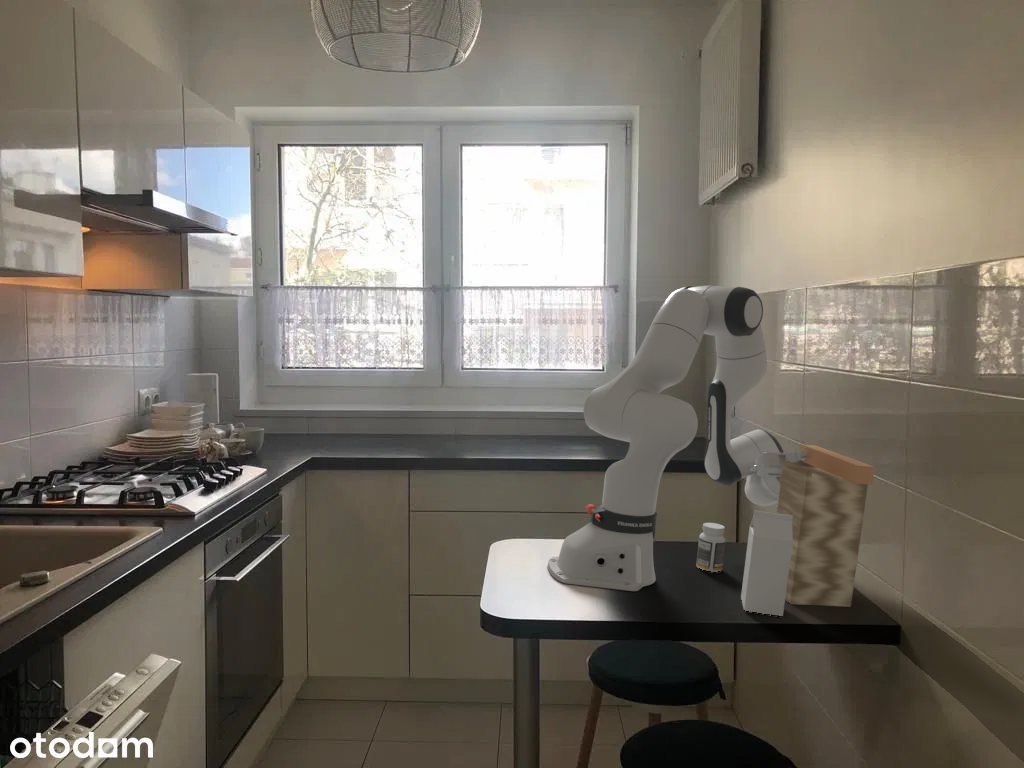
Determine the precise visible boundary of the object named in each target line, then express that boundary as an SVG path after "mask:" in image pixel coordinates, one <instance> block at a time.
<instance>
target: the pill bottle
mask: <svg viewBox="0 0 1024 768" xmlns="http://www.w3.org/2000/svg"><path fill="white" fill-rule="evenodd" d="M725 529H726V528H725V526H724V525H723V524H720V523H716V522H704V523H703V524H702V531H703V532H701V533H700V534H699V535H698V536H699V537H698V545H697V553H696V554H697V555H696V563H695V565H696V568H698V569H699V568H700V569H702V570H701V571H703V570H706V571H711V572H710V573H713V572H716V573H719V572H718V571H720V572H722V571H723V566H724V559H725V558H724V557H725V548H726V541H727V540H726V538H725V536H724V534H725ZM700 569H699V570H700ZM721 570H722V571H721ZM706 571H705V572H706Z"/></svg>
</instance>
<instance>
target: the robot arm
mask: <svg viewBox="0 0 1024 768" xmlns="http://www.w3.org/2000/svg"><path fill="white" fill-rule="evenodd" d="M763 314H764V306H763V302H762V300H761V297H760V296H759V295H758V293H757V292H756V291H755V290H753V289H751V288H747V287H744V286H743V287H742V286H736V287H732V286H724V285H714V284H713V285H698V286H684V287H681V288H678V289H676V290H674V291H673V292H671V293H670V294H669V295H668V297H666V299H665V301H664V302H663V303H662V305H661V306H660V308H659V310H658V311H657V313H656V314H655V316H654V317H653V320H652V322H651V324H650V326H649V328H648V331H647V332H646V335H645V337H644V339H643V341H642V342H641V344H640V346H639V349H638V350H637V352H636V354H635V356H634V358H633V359H632V360H631V362H629V364H628V365H627V366H626V367H625V368H624V369H623V370H622V371H621V372H620V373H619V374H618V375H617V376H615V377H614V378H613V379H612V380H610V381H608V382H607V383H605V384H604V385H601V386H599V387H597V388H595V389H593V390H592V391H591V392H590V393H588V396H587V397H586V399H585V402H584V404H583V418H584V421H585V424H586V426H587V427H588V429H590V430H592V431H594V432H595V433H598V434H600V435H602V436H604V437H606V438H609V439H613V440H617V441H622V442H626V443H629V447H628V451H627V453H626V455H625V457H624V458H623V459H620V460H618V461H615V462H613V463H612V464H611V465H609V466H608V468H607V469H606V471H605V474H604V482H603V490H602V491H603V492H602V500H601V504H600V505H598V506H595V505H594V504H592V503H588V504H587V505H586V506H585V511H586V513H587V514H589V515H590V522H588V523H587V524H586V525H584V526H582V527H580V529H578V530H576V531H575V532H573V533H571V534H568V536H566V537H565V539H564V540H563V542H562V544H561V548H560V550H559V554H558V556H552V557H550V558H549V559H548V563H547V569H548V572H549V573H550V575H551V576H552V577H553V578H554V579H555V580H557V581H558V582H561V583H563V584H567V585H568V584H569V585H578V586H586V587H593V588H602V589H612V590H617V591H627V592H628V591H629V592H638V591H640V590H641V589H642V588H644V587H647V586H650V585H652V584H654V583H655V582H656V581H657V578H656V573H655V567H654V565H655V564H654V539H655V538H656V537H655V534H656V532H657V525H658V519H657V518H658V513H657V512H656V507H657V499H658V495H659V487H660V482H661V478H662V476H663V475H662V474H663V473H664V470H665V468H666V466H667V465H668V463H669V462H670V460H671V459H672V458H673V457H674V456H675V455H677V453H679V452H680V451H682V450H683V449H686V448H687V447H688V446H689V445H690V444H691V443H692V442H693V440H694V439H695V437H696V435H697V431H698V426H699V425H698V423H699V420H698V415H697V413H696V410H695V409H694V406H692V405H691V404H690V403H689V402H687V401H684V400H682V399H679V398H677V397H675V396H672V395H669V394H663V393H662V392H663V391H664V390H666V389H668V388H670V387H672V386H675V385H678V384H679V383H680V382H682V381H683V380H684V379H685V378H686V377H687V375H688V372H689V370H690V368H691V366H692V363H693V361H694V359H695V356H696V354H697V352H698V350H699V347H700V345H701V343H702V342H701V341H702V339H703V337H704V335H708V336H711V337H712V336H713V337H715V339H714V340H715V341H714V342H715V344H714V345H715V352H716V353H715V354H716V368H715V374H714V376H713V379H712V381H711V382H710V384H709V385H708V390H707V396H706V397H707V401H706V446H705V450H704V451H705V452H704V459H703V461H704V462H703V467H704V470H705V472H706V474H707V475H708V477H709V479H711V480H712V481H714V482H715V483H717V484H719V485H723V486H725V487H730V486H732V485H734V484H735V483H737V482H739V481H741V480H742V479H744V478H746V482H745V485H744V493H745V497H746V498H747V499H748V500H749V501H750V502H751V503H753V504H755V505H757V506H761V507H769V506H773V505H775V504H778V500H779V493H780V485H781V477H782V469H783V462H784V461H789V462H791V463H794V464H796V465H798V466H801V467H813V468H817V467H814V466H812V465H810V464H807V463H805V462H802V461H800V460H805V459H806V458H807V454H806V453H807V452H806V451H804V450H800V449H799V450H797V451H795V452H790V453H789V452H786V453H785V452H784V449H783V447H782V445H781V443H779V441H778V440H777V438H776V437H775V436H774V435H772V434H771V433H769V432H768V431H767V430H764V429H760V428H756V429H754V430H751V431H749V432H746V433H743V434H741V435H739V436H737V437H735V438H732V439H731V429H732V428H731V427H732V426H731V424H732V423H731V421H732V419H731V418H732V417H731V416H732V412H733V410H734V408H735V406H736V405H737V404H738V403H739V402H740V400H742V398H743V397H744V396H745V395H747V394H748V392H749V393H750V391H751V390H752V389H754V388H755V387H756V386H757V385H759V383H761V381H762V379H763V378H764V376H765V374H766V371H767V365H768V361H767V360H768V359H767V351H766V343H765V338H764V333H763V328H762V326H761V323H762V319H763Z"/></svg>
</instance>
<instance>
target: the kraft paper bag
mask: <svg viewBox="0 0 1024 768" xmlns="http://www.w3.org/2000/svg"><path fill="white" fill-rule="evenodd" d="M868 486H869V484H855V483H853V482H850V481H848V480H846V479H843V478H841V477H838V476H836V475H834V474H831V473H829V472H826V471H824V470H822V469H819V468H813V467H801V466H798V465H796V464H794V463H791V462H789V461H784V462H783V469H782V477H781V485H780V493H779V500H778V503H777V509H776V513H777V514H784V515H792V516H793V518H792V532H793V543H792V551H791V558H790V566H789V574H788V581H787V589H786V597H785V602H787V603H788V602H789V603H790V605H804V606H806V605H808V606H823V607H824V606H827V607H849V608H851V607H852V601H853V593H854V586H855V579H856V572H857V564H858V556H859V550H860V545H861V544H860V543H861V536H862V529H863V522H864V516H865V508H866V499H867V493H868V488H869V487H868ZM789 603H788V604H789Z"/></svg>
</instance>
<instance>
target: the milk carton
mask: <svg viewBox="0 0 1024 768" xmlns="http://www.w3.org/2000/svg"><path fill="white" fill-rule="evenodd" d="M792 518H793V516H792V515H784V514H777V512H769V511H768V512H767V511H761V510H755V509H754V510H753V516H752V518H751V522H750V524H749V529H748V538H747V545H746V553H745V562H744V569H743V578H742V588H741V592H740V593H741V594H740V600H742V601H741V604H742V607H743V611H744V610H745V611H744V612H746V611H749V612H748V613H752V612H757V613H756V614H758V613H762V614H761V615H764V614H770V615H769V616H771V614H772V615H779V616H783V617H784V611H785V605H786V604H785V603H786V600H785V597H786V589H787V581H788V574H789V566H790V558H791V551H792V543H793V532H792Z"/></svg>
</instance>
